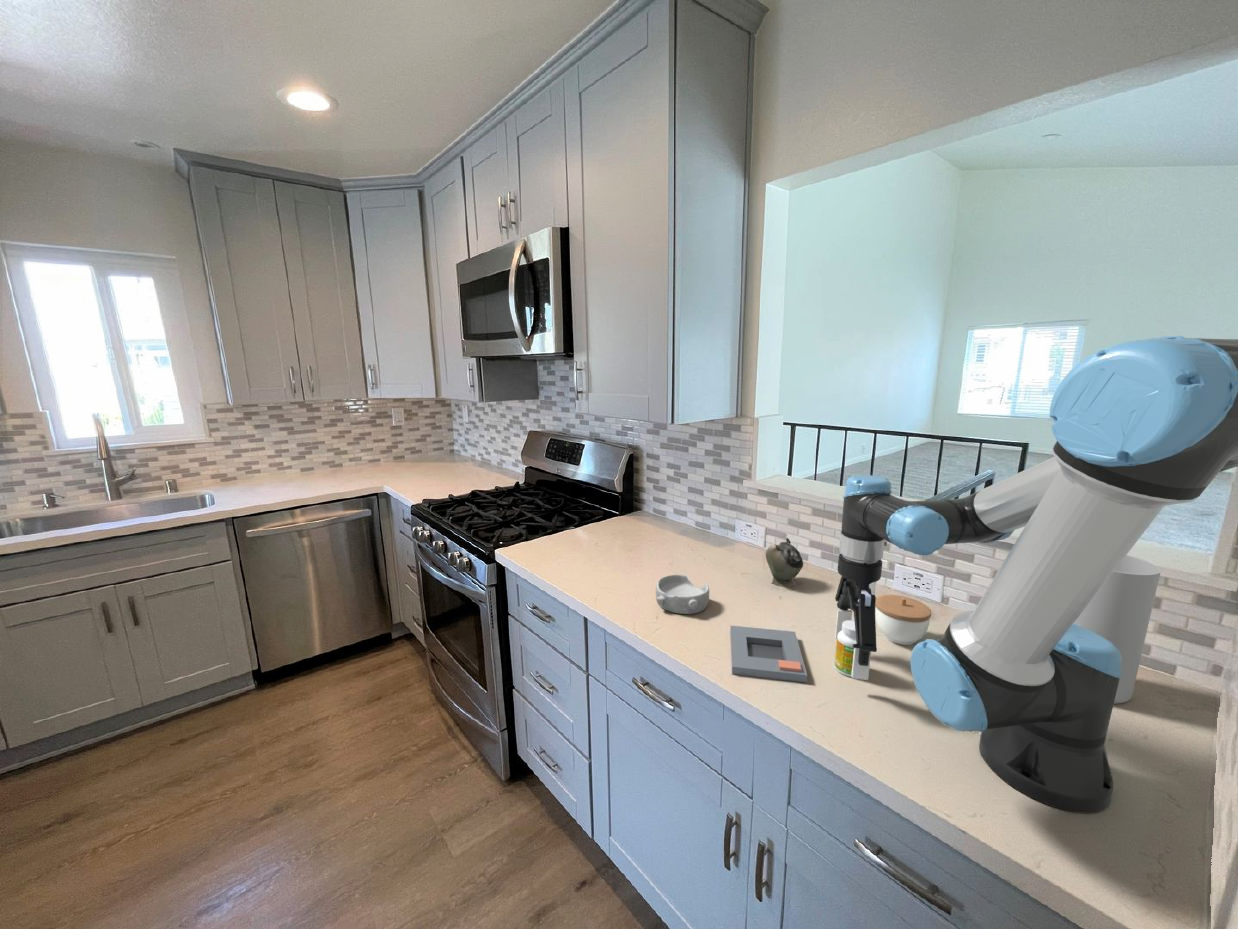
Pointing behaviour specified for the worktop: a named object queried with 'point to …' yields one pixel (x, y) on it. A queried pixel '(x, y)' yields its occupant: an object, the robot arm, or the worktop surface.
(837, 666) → the supplement bottle
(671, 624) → the worktop surface
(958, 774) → the worktop surface
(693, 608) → the dish
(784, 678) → the socket plate
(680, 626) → the worktop surface
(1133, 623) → the cylinder vase
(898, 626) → the lidded jar
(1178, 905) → the worktop surface
